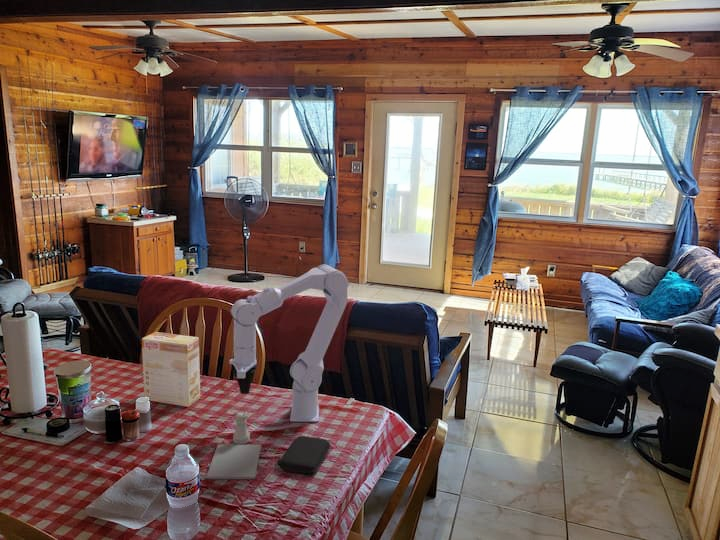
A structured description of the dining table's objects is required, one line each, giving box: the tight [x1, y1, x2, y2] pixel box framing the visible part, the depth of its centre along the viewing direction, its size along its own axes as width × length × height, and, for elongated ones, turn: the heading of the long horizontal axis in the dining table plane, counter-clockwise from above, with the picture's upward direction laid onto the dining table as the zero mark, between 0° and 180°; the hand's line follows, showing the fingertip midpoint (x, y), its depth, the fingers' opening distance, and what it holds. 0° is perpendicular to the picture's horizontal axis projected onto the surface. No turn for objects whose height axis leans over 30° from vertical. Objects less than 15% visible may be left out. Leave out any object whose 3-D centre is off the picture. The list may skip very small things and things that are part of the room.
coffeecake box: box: [141, 331, 201, 408], centre depth 162 cm, size 15×7×20 cm, turn 76°
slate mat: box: [205, 444, 262, 480], centre depth 132 cm, size 14×11×1 cm
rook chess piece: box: [232, 410, 251, 445], centre depth 141 cm, size 4×4×8 cm
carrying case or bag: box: [276, 435, 331, 477], centre depth 135 cm, size 11×3×15 cm
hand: (245, 392), depth 147 cm, fingers closed
